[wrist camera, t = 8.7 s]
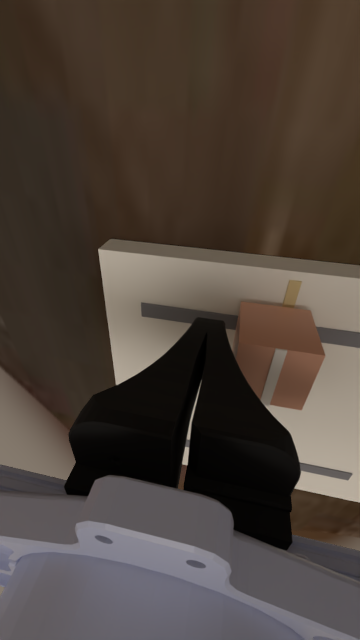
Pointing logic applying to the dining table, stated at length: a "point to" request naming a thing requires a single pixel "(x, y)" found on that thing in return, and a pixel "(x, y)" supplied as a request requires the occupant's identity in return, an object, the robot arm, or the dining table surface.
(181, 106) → the dining table surface
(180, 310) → the console
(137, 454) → the robot arm
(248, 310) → the fader terracotta
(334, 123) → the dining table surface
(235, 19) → the dining table surface
